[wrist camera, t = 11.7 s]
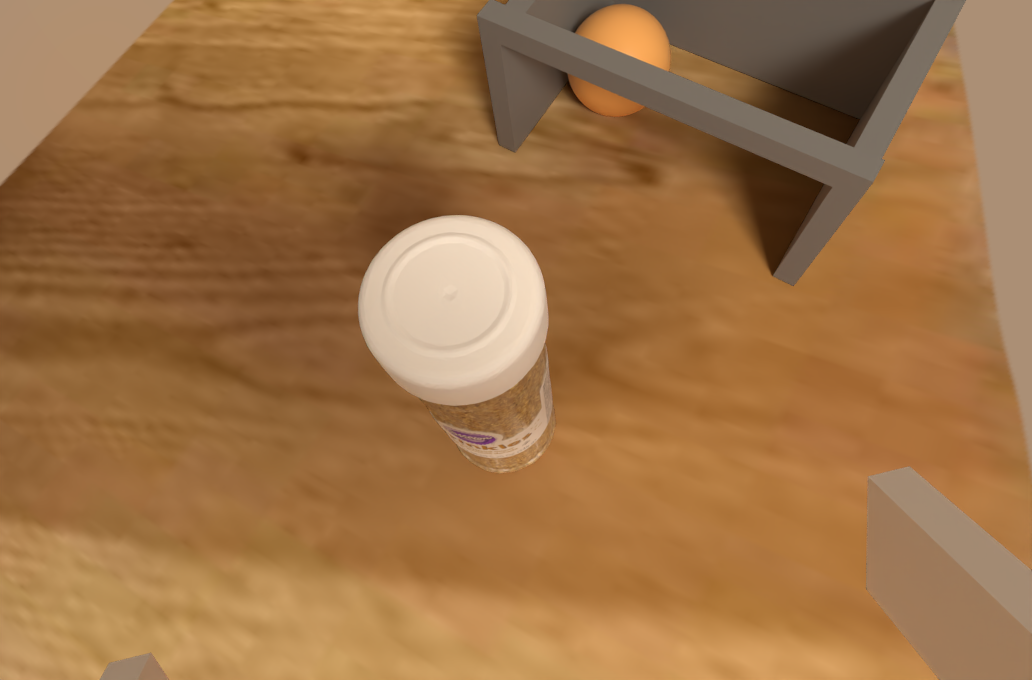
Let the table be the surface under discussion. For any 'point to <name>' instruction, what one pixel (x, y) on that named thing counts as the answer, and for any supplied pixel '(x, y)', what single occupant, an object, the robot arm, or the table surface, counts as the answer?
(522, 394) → the sprinkles bottle
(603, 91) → the ball
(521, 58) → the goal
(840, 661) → the table surface
